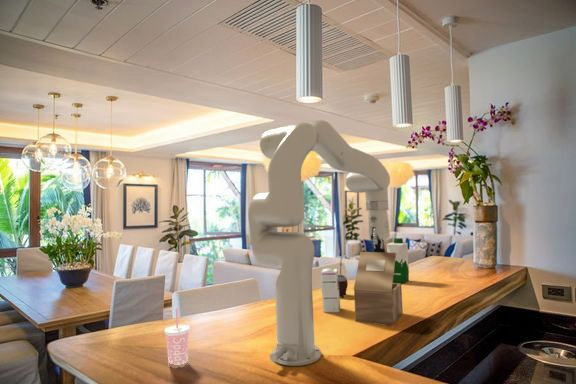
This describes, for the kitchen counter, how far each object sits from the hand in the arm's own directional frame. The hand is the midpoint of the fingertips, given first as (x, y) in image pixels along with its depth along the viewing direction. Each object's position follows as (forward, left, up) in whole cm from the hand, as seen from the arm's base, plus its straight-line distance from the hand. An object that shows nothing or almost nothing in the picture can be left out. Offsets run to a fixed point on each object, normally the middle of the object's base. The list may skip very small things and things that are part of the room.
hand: (380, 260), depth 129 cm
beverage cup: (-59, +36, -19) cm, 71 cm away
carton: (-4, 0, -18) cm, 19 cm away
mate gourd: (+19, +23, -19) cm, 35 cm away
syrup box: (-2, +18, -19) cm, 26 cm away
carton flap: (-6, 0, -3) cm, 7 cm away
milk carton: (+52, +6, -19) cm, 56 cm away
